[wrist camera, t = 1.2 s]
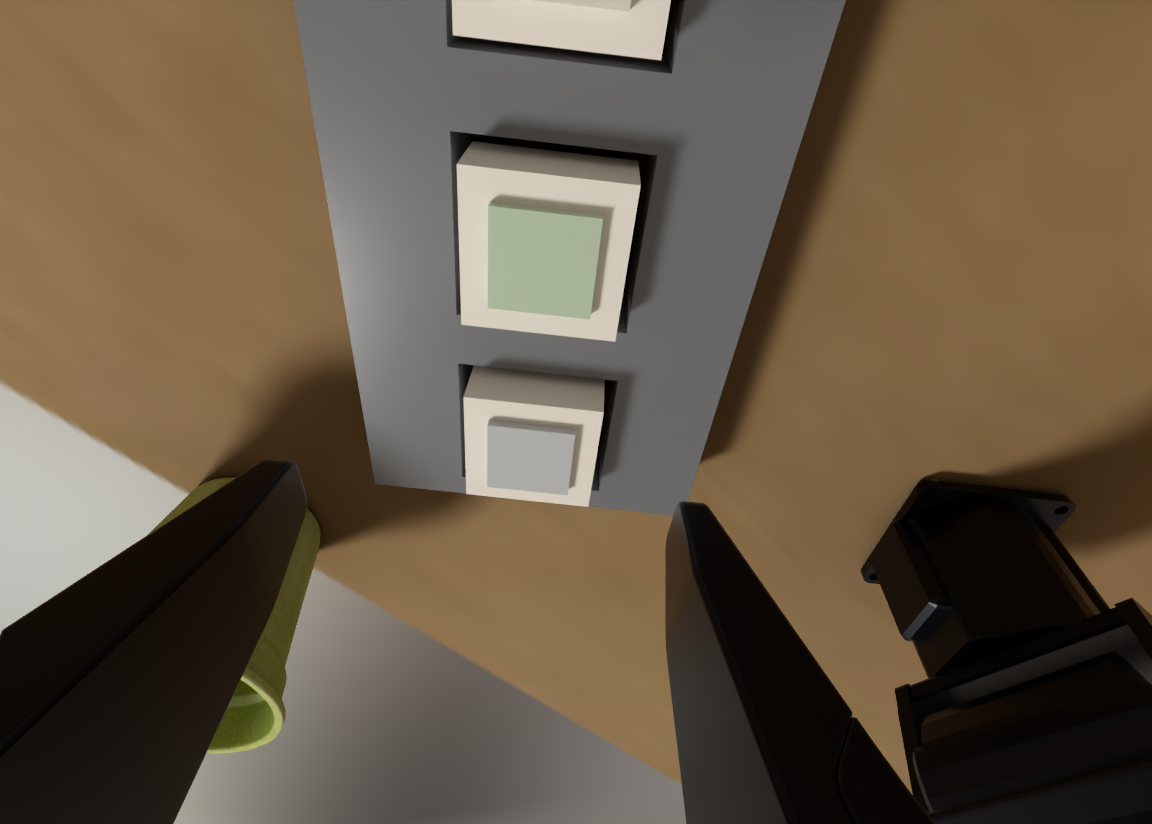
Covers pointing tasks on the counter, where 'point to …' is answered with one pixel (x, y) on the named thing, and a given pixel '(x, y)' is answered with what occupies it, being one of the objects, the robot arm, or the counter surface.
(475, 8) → the key ivory
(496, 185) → the key sage
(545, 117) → the gray key board
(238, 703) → the plant pot
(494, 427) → the key slate
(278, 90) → the counter surface
